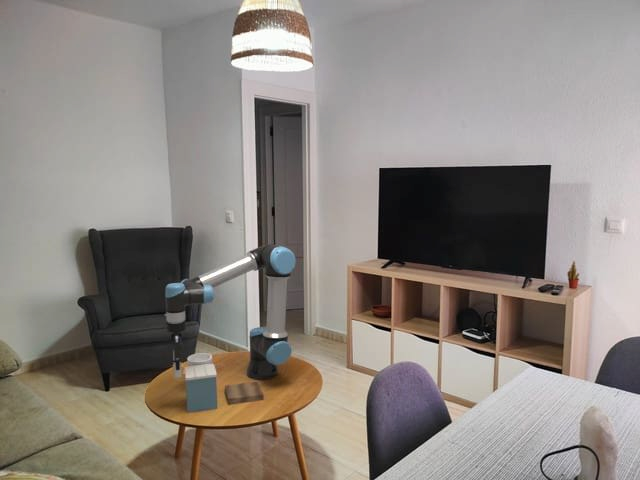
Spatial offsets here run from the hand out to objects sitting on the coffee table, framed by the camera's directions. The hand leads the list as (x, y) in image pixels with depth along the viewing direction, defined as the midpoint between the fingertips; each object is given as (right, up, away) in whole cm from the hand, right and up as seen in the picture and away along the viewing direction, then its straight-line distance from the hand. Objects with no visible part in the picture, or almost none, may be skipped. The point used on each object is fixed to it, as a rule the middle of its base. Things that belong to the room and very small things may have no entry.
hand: (177, 370), depth 206 cm
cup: (+4, -14, +22) cm, 26 cm away
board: (+26, -14, +13) cm, 32 cm away
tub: (+9, -16, +5) cm, 19 cm away
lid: (+7, -3, +3) cm, 8 cm away
